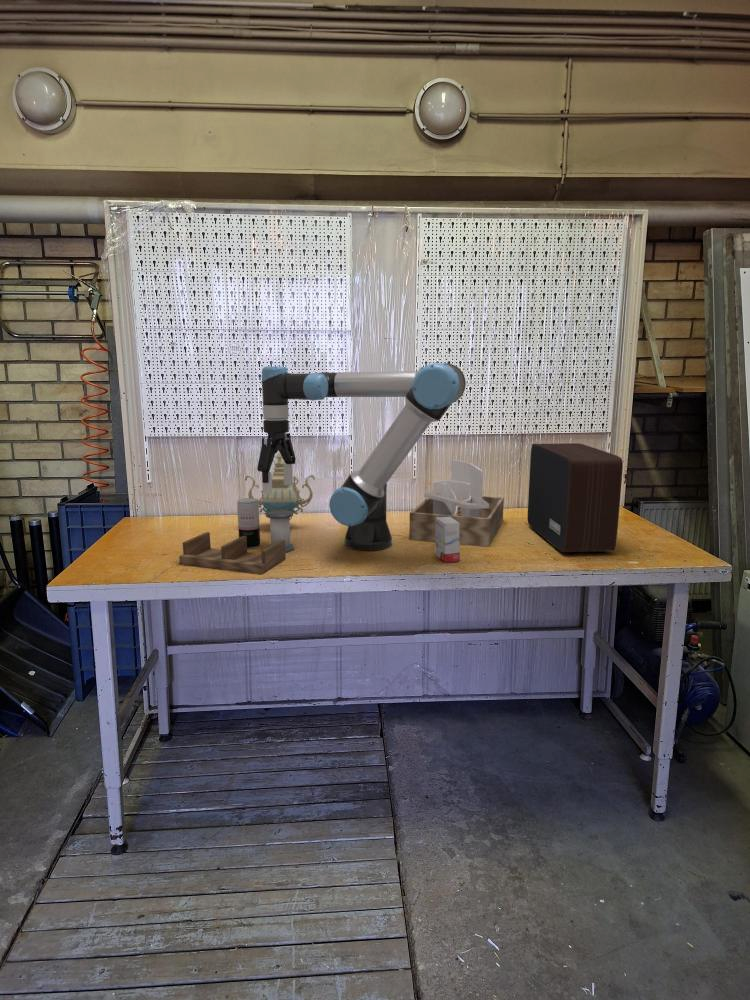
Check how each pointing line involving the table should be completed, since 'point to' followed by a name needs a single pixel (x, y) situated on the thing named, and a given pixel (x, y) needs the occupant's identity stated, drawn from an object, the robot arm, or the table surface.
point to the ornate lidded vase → (281, 492)
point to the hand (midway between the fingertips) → (278, 489)
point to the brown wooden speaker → (575, 496)
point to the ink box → (447, 539)
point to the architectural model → (459, 492)
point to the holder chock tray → (469, 527)
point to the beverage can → (249, 521)
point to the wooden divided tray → (231, 555)
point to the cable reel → (280, 527)
